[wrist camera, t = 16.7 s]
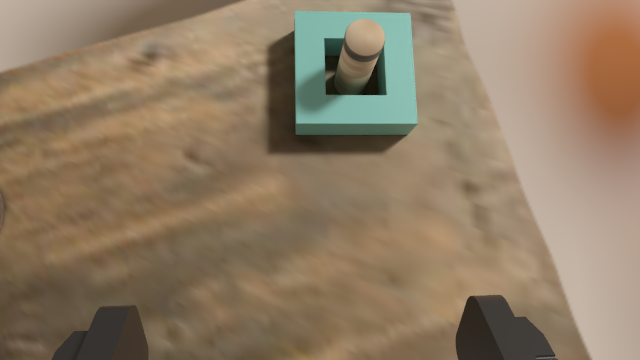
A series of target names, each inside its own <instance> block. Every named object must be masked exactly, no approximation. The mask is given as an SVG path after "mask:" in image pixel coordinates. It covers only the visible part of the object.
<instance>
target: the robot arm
mask: <svg viewBox="0 0 640 360" xmlns="http://www.w3.org/2000/svg"><path fill="white" fill-rule="evenodd" d="M3 218H4V202H3V198H2V194H1V192H0V229H1V227H2V223H3ZM456 351H457V356H458V359H459V360H558V359H556V358H555V354H554V352H553V350H552V349H551V347H550V345H549V343H548V341H547V340H546V338H545V336H544V334H543V333H542V332H541V331H539V330H538V329H537V328H536V327H535V326H534V325H533V324H532V323H531V322H530V321H529V320H528V319H527V318H526V317H515V316H514V314H513V312H512V311H511V309H510V307H509V305H508V303H507V301H506V300H505V298H504V297H503V296H501V295H487V296H470V297H469V298H468V299H467V302H466V305H465V308H464V312H463V315H462V318H461V321H460V324H459V328H458V331H457V334H456ZM52 360H148V345H147V341H146V337H145V334H144V330H143V327H142V323H141V320H140V316H139V313H138V310H137V307H136V306H134V305H132V306H102V307H100V308H99V309H98V310H97V312H96V314H95V316H94V319H93V321H92V323H91V326H90V328H89V331H74V332H73V333H72V334H71V336H70V337H69V338H68V339H67V340H66V341H65V342H64V343H63V344H62V345H61V346H60V347H59V348H58V349H57V351H56V352H55V354H54V356H53V358H52Z"/></svg>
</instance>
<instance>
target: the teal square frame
mask: <svg viewBox="0 0 640 360" xmlns="http://www.w3.org/2000/svg"><path fill="white" fill-rule="evenodd" d="M359 19H370V20H373V21H375V22H376V23H378V24H379V25H380V26H381V28H382V29H383V31H384V33H385V44H384V47H383V49H382V51H381V53H380V55H379V57H378V59H377V75H378V95H326V87H325V55H327V56H340V55H341V51H342V46H343V40H344V36H345V32H346V29H347V27H348V26H349V25H350V24H351V23H352V22H354V21H356V20H359ZM294 51H295V134H296V135H408V134H409V133H410V132H411V130H412V129H413V128H414V127H415V126H416V125H417V124H418V122H417V107H416V92H415V77H414V62H413V47H412V32H411V17H410V13H372V12H319V11H295V21H294Z"/></svg>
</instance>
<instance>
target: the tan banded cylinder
mask: <svg viewBox="0 0 640 360" xmlns="http://www.w3.org/2000/svg"><path fill="white" fill-rule="evenodd" d="M384 44H385V33H384V31H383V29H382V28H381V26H380V25H379V24H378V23H376V22H375V21H373V20H370V19H359V20H356V21H354V22H352V23H351V24H350V25H349V26H348V27H347V29H346V32H345V36H344V40H343V46H342V51H341V55H340V59H339V63H338V67H337V71H336V75H335V79H334V85H335V88H336V90H337V91H338V93H339V94H341V95H361V94H362V93H363V92H364V90H365V88H366V85H367V83H368V81H369V78H370V76H371V73H372V71H373V69H374V66H375V64H376V62H377V59H378V57H379V55H380V53H381V51H382V49H383V47H384Z"/></svg>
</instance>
